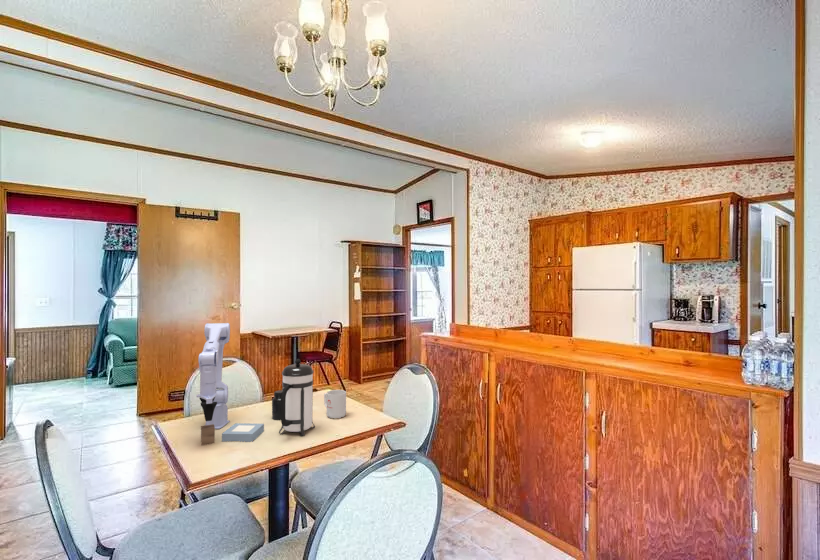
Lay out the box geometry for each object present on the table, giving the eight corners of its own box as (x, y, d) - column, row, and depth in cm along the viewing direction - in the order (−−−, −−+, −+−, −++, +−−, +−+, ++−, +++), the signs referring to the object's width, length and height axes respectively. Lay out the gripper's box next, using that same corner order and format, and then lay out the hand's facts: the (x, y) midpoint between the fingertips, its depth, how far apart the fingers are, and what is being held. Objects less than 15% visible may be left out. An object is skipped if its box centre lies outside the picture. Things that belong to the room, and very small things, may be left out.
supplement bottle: (282, 414, 195) (282, 388, 195) (290, 417, 191) (290, 391, 191) (268, 418, 190) (269, 391, 190) (277, 421, 185) (277, 394, 185)
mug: (349, 415, 194) (350, 391, 194) (336, 420, 187) (336, 395, 187) (331, 411, 201) (331, 387, 201) (317, 415, 194) (317, 391, 194)
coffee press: (272, 428, 176) (273, 357, 176) (310, 423, 183) (311, 354, 184) (280, 442, 161) (281, 364, 161) (321, 435, 168) (322, 361, 168)
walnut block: (200, 441, 161) (201, 426, 161) (213, 439, 164) (213, 424, 164) (201, 445, 157) (201, 429, 157) (214, 443, 160) (214, 427, 160)
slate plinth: (235, 430, 173) (235, 423, 173) (263, 430, 173) (263, 423, 173) (221, 441, 161) (221, 433, 161) (252, 441, 161) (252, 434, 161)
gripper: (196, 379, 165) (195, 414, 165) (197, 387, 152) (197, 425, 152) (215, 377, 169) (215, 411, 168) (218, 385, 156) (218, 422, 156)
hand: (208, 417), depth 161 cm, fingers open, 7 cm apart
